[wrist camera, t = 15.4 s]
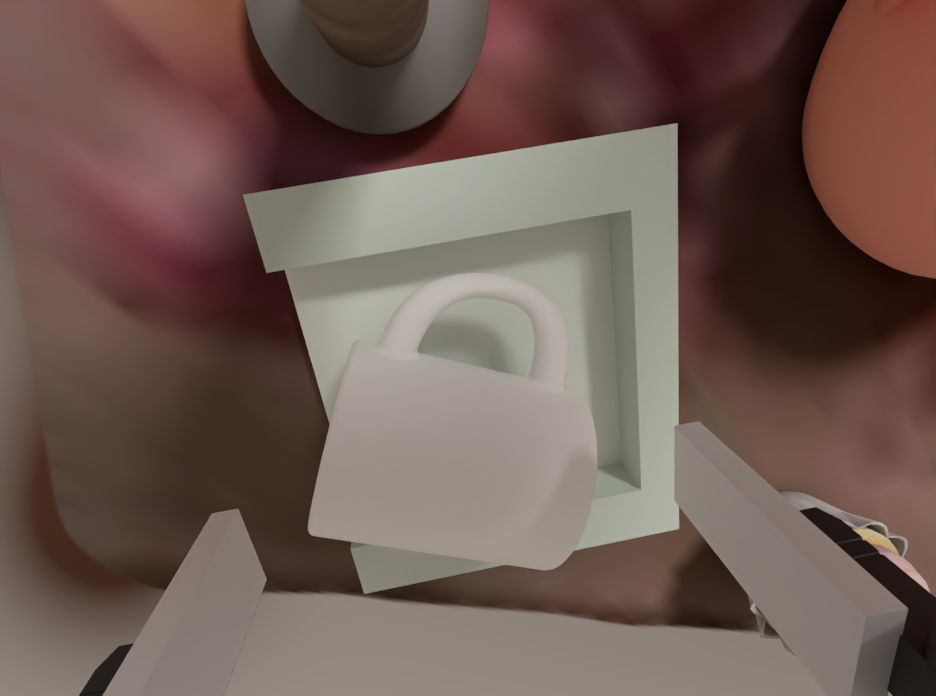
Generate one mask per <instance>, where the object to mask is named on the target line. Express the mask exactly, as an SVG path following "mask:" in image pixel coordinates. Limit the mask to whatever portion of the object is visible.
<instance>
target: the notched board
mask: <svg viewBox="0 0 936 696" xmlns="http://www.w3.org/2000/svg"><path fill="white" fill-rule="evenodd" d="M243 197H244V201H245V204H246V207H247V210H248V214H249V217H250V220H251V224H252V227H253V230H254V233H255V237H256V240H257V243H258V247H259V250H260V253H261V257H262V260H263V263H264V266H265V270H266V273H269V272H275V271H281V270H285V273H286V276H287V280H288V283H289V286H290V290H291V293H292V297H293V300H294V304H295V307H296V311H297V314H298V318H299V321H300V324H301V328H302V331H303V335H304V338H305V342H306V345H307V349H308V352H309V355H310V359H311V362H312V366H313V369H314V373H315V376H316V380H317V383H318V386H319V390H320V393H321V397H322V400H323V404H324V407H325V411H326V414H327V417H328V421H329V424H330V422H331V418H332V414H333V410H334V406H335V402H336V398H337V395H338V391H339V387H340V384H341V380H342V376H343V373H344V369H345V366H346V363H347V359H348V356H349V353H350V350H351V347H352V345H353V343H354V342H355V341H356V340H365V341H370V342H374V343H379V342H380V340H381V338H382V335H383V333H384V331H385V329H386V327H387V324H388V322H389V321H390V319H391V317H392V316H393V314H394V313H395V311H396V310H397V309H398V307H399V306H400V305H401V304H402V303H403V302H404V301H405V300H406V299H407V298H408V297H409V296H410V295H411V294H412V293H414V292H415V291H416V290H418V289H419V288H421V287H423V286H425V285H426V284H428V283H431V282H433V281H435V280H438V279H441V278H444V277H448V276H452V275H457V274H465V273H491V274H500V275H505V276H510V277H514V278H517V279H520V280H523V281H525V282H528V283H530V284H532V285H534V286H536V287H537V288H539V289H540V290H542V291H543V292H544V293H546V294H547V295H548V296H549V297H550V298H551V299H552V300H553V301H554V303H555V304H556V305H557V307H558V308H559V310H560V312H561V314H562V316H563V318H564V321H565V324H566V328H567V333H568V341H569V357H568V365H567V372H566V377H565V382H564V386H565V387H569V388H572V389H574V390H576V391H577V392H578V393H579V394H580V395H581V396H582V397H583V398H584V400H585V401H586V403H587V405H588V407H589V410H590V412H591V415H592V419H593V423H594V427H595V433H596V442H597V473H596V483H595V490H594V496H593V501H592V505H591V509H590V513H589V517H588V520H587V523H586V526H585V528H584V531H583V533H582V535H581V538H580V540H579V542H578V544H577V545H576V547H575V549H574V550H579V549H584V548H589V547H594V546H599V545H604V544H608V543H613V542H618V541H623V540H628V539H633V538H637V537H642V536H647V535H652V534H657V533H662V532H666V531H671V530H676V529H679V505H678V504H677V503H676V502H675V500H674V426H677V425H679V376H678V123H675V124H669V125H663V126H657V127H651V128H645V129H639V130H633V131H627V132H621V133H615V134H608V135H602V136H596V137H590V138H584V139H578V140H572V141H566V142H560V143H554V144H548V145H542V146H536V147H530V148H524V149H517V150H511V151H505V152H499V153H493V154H487V155H481V156H475V157H469V158H463V159H457V160H451V161H445V162H439V163H433V164H426V165H420V166H414V167H408V168H402V169H396V170H390V171H384V172H378V173H372V174H366V175H360V176H354V177H348V178H342V179H336V180H329V181H323V182H317V183H311V184H305V185H299V186H293V187H287V188H281V189H275V190H269V191H263V192H257V193H251V194H245V195H243ZM534 345H535V339H534V330H533V326H532V323H531V320H530V318H529V317H528V315H527V314H526V313H525V312H524V311H523V310H522V309H521V308H519V307H518V306H516V305H514V304H511V303H509V302H505V301H501V300H496V299H489V298H471V299H465V300H462V301H459V302H456V303H454V304H452V305H450V306H449V307H447V308H446V309H445V310H443V311H442V312H441V313H440V314H439V315H438V316H437V317H436V318H435V319H434V321H433V322H432V323H431V324H430V326H429V327H428V329H427V330H426V332H425V334H424V336H423V338H422V340H421V342H420V344H419V346H418V349H417V351H418V353H422V354H426V355H431V356H435V357H439V358H444V359H448V360H452V361H457V362H461V363H465V364H470V365H474V366H478V367H483V368H487V369H492V370H496V371H500V372H505V373H509V374H513V375H518V376H522V377H528V376H529V375H530V372H531V367H532V362H533V356H534ZM350 549H351V552H352V556H353V559H354V562H355V566H356V569H357V572H358V575H359V579H360V582H361V585H362V589H363V592H364V594H367V593H371V592H376V591H381V590H386V589H391V588H396V587H400V586H405V585H410V584H415V583H420V582H425V581H429V580H434V579H439V578H444V577H449V576H454V575H458V574H463V573H468V572H473V571H478V570H483V569H487V568H492V567H497V566H502V565H504V564H498V563H491V562H484V561H478V560H471V559H464V558H457V557H451V556H444V555H437V554H431V553H424V552H417V551H410V550H404V549H397V548H390V547H384V546H377V545H370V544H363V543H357V542H351V548H350ZM574 550H573V551H574Z"/></svg>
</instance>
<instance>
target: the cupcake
mask: <svg viewBox="0 0 936 696" xmlns="http://www.w3.org/2000/svg"><path fill="white" fill-rule="evenodd" d="M779 493H780V494H781V495H782V496H783V497H784V498H785V499H786V500H787V501H789V502H790V503H791V504H792V505H793V506H794V507H795V508H796V509H798V510H804V509H809V508H814V507H817V508H819V509H821V510H823V511H825V512H827V513H829V514H831V515H833V516H835V517H837V518H839V519H841V520H842V521H843V522H845V523H846V524H847V525H848V526H850V527H851V528H852V529H853V530H854V531H856V532H857V533H858V534H859V535H860V536H862V539H863V540H866V541H868V542H869V543H870V544H871V545H873V546H874V547H875V548H876V549H877V550H879V553H880V554H883V555H885V556H886V557H887V558H888V559H889V560H891V561H892V562H893V563H894V564H896V565H897V566H898V567H899V568H900V569H902V570H903V571H904V572H905V573H906V574H908V575H909V576H910V577H911V578H913V579H914V580H915V581H916V582H917V583H919V584H920V585H921V586H922V587H923V588H925V589H926V590H927V591H928V592H929V593H930V591H929V588H928V586H927V584H926V581H925V580H924V579H923V578H922V577H921V576H920V575H919V573H918V572H917V571H916V570H915V569H914V568H913V567H912V564H910V563H909V562H908V561H907V560H905V559H904V558H903V557H904V555H905V552H906V550H907V547H908V545H907V539H905V538H903V537H902V536H899V535H896V534H893V533H890V532H888V530H887V526H886V525H884V524H882V523H881V522H878V521H874V520H871V519H867V518H864V517H861V516H857V515H854V514H850V513H847V512H844V511H842V510H840V509H838V508H835V507H833V506H831V505H829V504H827V503H825V502H823V501H821V500H819V499H817V498H815V497H812V496H810V495H808V494H805V493H801V492H796V491H789V490H786V491H779ZM748 597H749V595H748ZM749 603H750V609H751V610H752V612H753V613H755V615H756V620H757V624H758V629H759V633H760V637H763V638H780V639H781V641H782V643H783V646H784V647H785V649H786V650H788V651H790V652H791V653H792V654H794V653H793V652H792V651H791V649H790V648H789V647H788V646H787V644H786V643H785V642H784V640H783V639H782V638H781V637H780V635H779V634H778V633H777V631H776V630H775V629H774V628H773V626H772V625H771V624H770V622H769V621H768V620H767V619H766V617H765V616H764V615H763V613H762V612H761V611H760V610H759V608H758V607H757V606H756V604H755V603H754V602H753V601H752V599H751V598H750V597H749Z"/></svg>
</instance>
